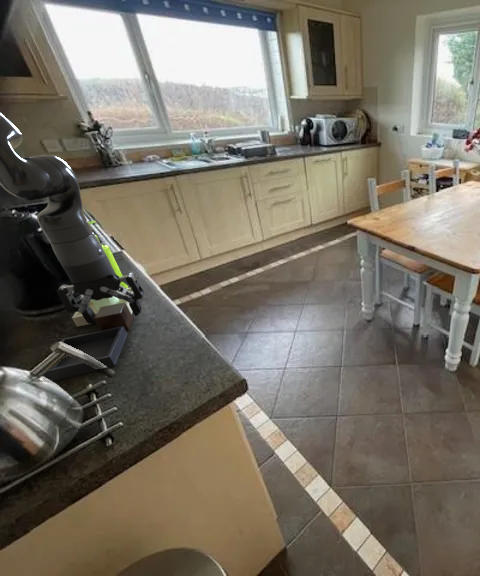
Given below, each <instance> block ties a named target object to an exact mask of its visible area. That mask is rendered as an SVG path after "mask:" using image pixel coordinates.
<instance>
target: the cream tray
mask: <svg viewBox="0 0 480 576" xmlns="http://www.w3.org/2000/svg"><path fill="white" fill-rule="evenodd" d="M126 289H127V290H128V291H130V292H132V293H133V291H132V290H131V288H130V287H128V288H126ZM117 291H118V290H117ZM118 292H119V291H118ZM119 301H120V303H126V305H127V307H128V309H129V311H130V313H131V315H132V316H133V314H134V313H133V311H132V309H131V307H130V305H129V302H127V301H125V300H123V299H119ZM88 307H89V308H92V310H93V312H94V313H95V315H96V314H97V313H98V311H97V309H96V307H95V306H94V304H93V302H92V300H91V302H90V304H89V306H88ZM71 319H72V321H73V323H74V324H75V326H76V327H82V326H83V327H84V326H86V325H91V323H90V324H89V323H87V322H86V320H85V318H84V317H83V315H82V314H81V313H80V312H74V314H73V316H72V317H71Z"/></svg>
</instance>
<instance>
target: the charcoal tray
mask: <svg viewBox="0 0 480 576" xmlns="http://www.w3.org/2000/svg"><path fill="white" fill-rule="evenodd" d="M127 338H128V333H127V331H126V330H125V329H124V327H123V326H121V327H116V328H111V329H107V330H102V331H101V330H98V331H93V332H88V333H83V334H79V335H74V336H69V337H64V338H62V339H61V340H60V342H64V343H66V344H68V345H71V346H72V347H74V348H76V349H79V350H81V351H83V352H84V353H86V354H88V355H90V356H92V357H94V358H95V359H96V360H98V361H100V362H101V363H103V364H104V365H106V366H107V367H108V368H107V369H109V368H114V367H116V366H117V363H118V361H119V358H120V355H121V352H122V350H123V348H124V345H125V343H126V340H127ZM93 372H98V370H96V369H94V368H92V367H91V366H89V365H87V364H85V363H84V362H81V361H79V360H78V359H75V358H73V357H70V356H67V357H65V358H64V359H62V360H61V361H60V362H59V363H58V364H57V365H56V366H54V367H53V368H52V369H50V370H48V371H47V372H46V373H45V374H44V376H45V377H46V378H48V379H50V380H52V382H56V381H60V380H64V379H68V378H73V377H77V376H80V375H85V374H88V373H93Z"/></svg>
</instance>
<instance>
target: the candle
mask: <svg viewBox="0 0 480 576" xmlns="http://www.w3.org/2000/svg"><path fill="white" fill-rule="evenodd" d="M92 302H93V304H94V306H95V307H96V309H97V311H99V309H100V307H104V306H109V305H114V304H119V303H120V301H119V299H118V298H116V297H114V296H113V297H112V298H103V299H101V300H97V301H95V300H92Z"/></svg>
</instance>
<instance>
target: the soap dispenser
mask: <svg viewBox="0 0 480 576" xmlns="http://www.w3.org/2000/svg"><path fill="white" fill-rule="evenodd" d="M87 221H88V223H89V225H90V226H91V225H93V224H96V223H97V221H96V220H87ZM94 235H95V236H96V238H97V239H98V240H99V242H100V244H101V241H100V239H99V237H98V235H97V234H94ZM101 245H102V247H103V249H104V251H105V253H106V255H107V257H108V259H109V261H110V263H111V265H112V267H113V269H114V271H115V273H116V275H118V276H119V277H121V276H124V275H123V273H122V271H121V269H120V267H119V265H118V264H117V261H116V259H115V257H114V254H113V253H112V251H111V249H110V246H109V245H107V244H101ZM120 285H121V286H123V287H125V288H129V285H126V284H125V283H124V282H121V283H120Z"/></svg>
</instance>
